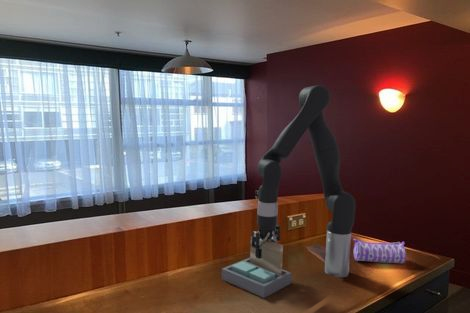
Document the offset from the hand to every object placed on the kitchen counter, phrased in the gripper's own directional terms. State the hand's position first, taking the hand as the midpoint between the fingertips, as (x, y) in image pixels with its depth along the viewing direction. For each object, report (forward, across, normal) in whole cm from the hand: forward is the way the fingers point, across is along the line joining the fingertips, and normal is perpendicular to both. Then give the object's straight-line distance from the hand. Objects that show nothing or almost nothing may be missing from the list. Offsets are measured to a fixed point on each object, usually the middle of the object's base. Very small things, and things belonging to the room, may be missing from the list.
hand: (265, 255), depth 141 cm
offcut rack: (+10, -5, 0) cm, 11 cm away
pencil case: (+10, +51, -23) cm, 57 cm away
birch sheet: (+8, 0, 0) cm, 9 cm away
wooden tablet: (+10, +40, -3) cm, 41 cm away
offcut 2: (+8, -7, -4) cm, 12 cm away
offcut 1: (+8, -7, +4) cm, 12 cm away
